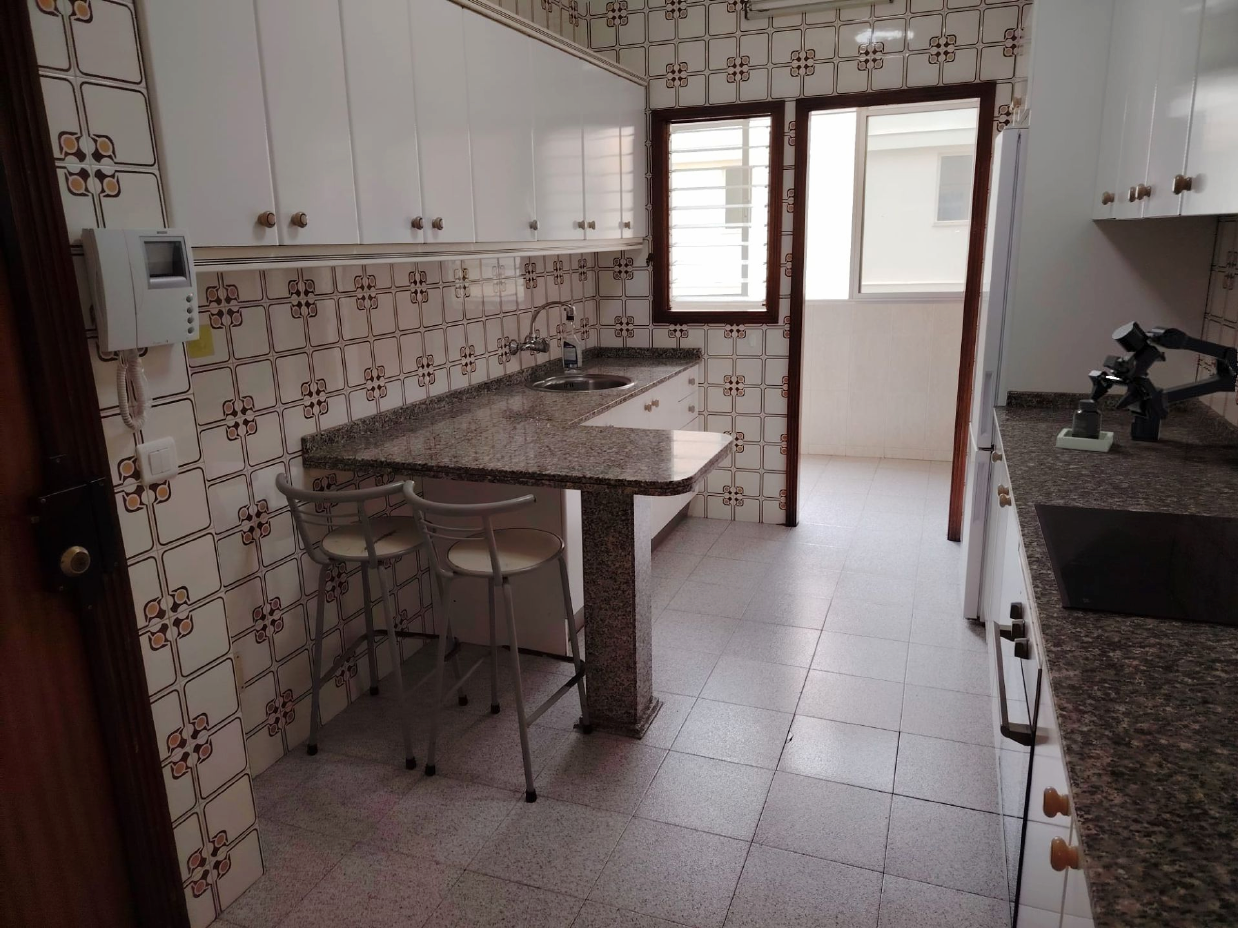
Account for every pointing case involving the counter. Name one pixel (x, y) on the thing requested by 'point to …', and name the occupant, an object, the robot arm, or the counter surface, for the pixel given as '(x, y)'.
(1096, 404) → the supplement bottle
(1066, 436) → the mint green square tray
